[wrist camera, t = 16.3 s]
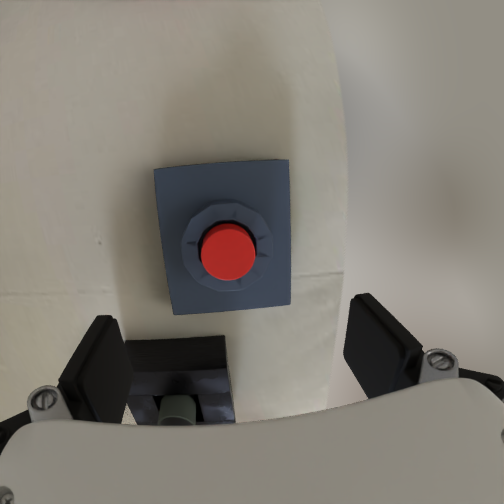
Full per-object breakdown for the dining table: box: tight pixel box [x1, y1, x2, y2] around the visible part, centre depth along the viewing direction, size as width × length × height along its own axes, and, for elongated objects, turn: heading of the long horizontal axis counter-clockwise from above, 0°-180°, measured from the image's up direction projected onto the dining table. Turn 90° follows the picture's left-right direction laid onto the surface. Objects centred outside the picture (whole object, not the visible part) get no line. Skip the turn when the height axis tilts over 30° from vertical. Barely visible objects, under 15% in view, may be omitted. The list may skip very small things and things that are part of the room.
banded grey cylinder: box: [158, 394, 196, 426], centre depth 24 cm, size 3×3×9 cm
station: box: [154, 159, 291, 315], centre depth 22 cm, size 12×10×4 cm
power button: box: [201, 223, 255, 280], centre depth 20 cm, size 4×4×2 cm
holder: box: [124, 335, 236, 426], centre depth 26 cm, size 10×10×5 cm
